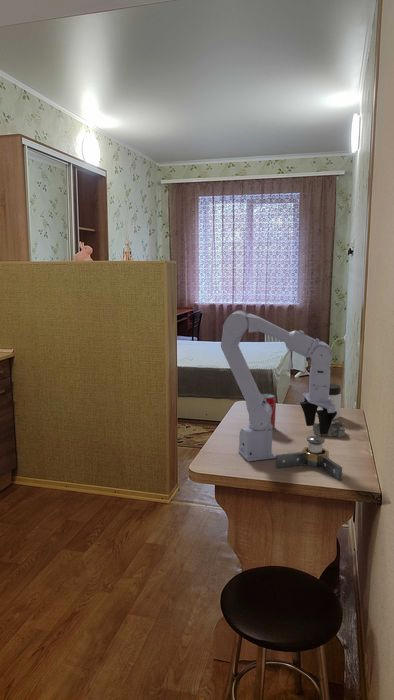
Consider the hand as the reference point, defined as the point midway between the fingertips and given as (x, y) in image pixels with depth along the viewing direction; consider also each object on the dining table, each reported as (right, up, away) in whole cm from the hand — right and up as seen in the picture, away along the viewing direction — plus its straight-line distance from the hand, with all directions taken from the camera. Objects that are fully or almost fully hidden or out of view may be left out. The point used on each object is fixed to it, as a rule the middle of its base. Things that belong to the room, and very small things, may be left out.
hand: (316, 429), depth 146 cm
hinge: (-3, -11, -6) cm, 13 cm away
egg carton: (+10, -6, +26) cm, 28 cm away
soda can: (-11, -4, +30) cm, 32 cm away
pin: (-1, -10, 0) cm, 10 cm away
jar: (+15, -2, +44) cm, 47 cm away
